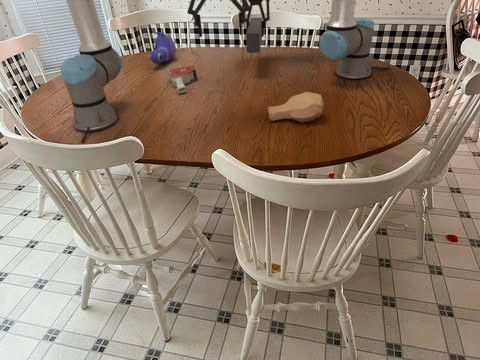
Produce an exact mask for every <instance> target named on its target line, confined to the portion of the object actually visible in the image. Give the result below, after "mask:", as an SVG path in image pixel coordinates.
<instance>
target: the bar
mask: <svg viewBox="0 0 480 360" xmlns="http://www.w3.org/2000/svg"><path fill="white" fill-rule="evenodd" d="M262 21H263V18H262V17H250V19H249V22H250V23H249V26H248V29H247V28H246V33H245V37H246V39H245V43H246V53H247V54H249V53H250V54H256V53H258V54H259V53H260V52H261V45H262V39H263V37H262Z"/></svg>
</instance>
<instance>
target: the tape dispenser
mask: <svg viewBox="0 0 480 360" xmlns="http://www.w3.org/2000/svg"><path fill="white" fill-rule="evenodd" d="M181 70H183V71H181ZM166 72H167V77H168V79H169V81H170V82H171V84H172V85H173V87H176V92H177V93H178V94H183V93H186V92H187V87H186V85H187V84H188V83H191V81H196V80H197V77H198V76H197V70H196V67H195V65H188V66H183V67H176V68H168V69H166Z"/></svg>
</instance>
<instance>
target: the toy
mask: <svg viewBox="0 0 480 360" xmlns="http://www.w3.org/2000/svg"><path fill="white" fill-rule="evenodd" d="M153 34H154V35H157V36H156V38H155V42H154V50H152V51H150V53H149V56H148V58H149V60H150V61H151V62H152V63H153V64H155V65H156V68H157V69H159V67H160V64H163V63H166V62H169V61H170V60H172V59H173V58H174V57H175V55H176V51H177V49H176V44H175V42H174V40H173V38H172V37H171V36H170V35H168V36H167V35H166V34H165V33H164V32H163V31H160V32H159V31H155V32H154V33H153Z"/></svg>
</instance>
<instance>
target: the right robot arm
mask: <svg viewBox="0 0 480 360" xmlns="http://www.w3.org/2000/svg"><path fill="white" fill-rule="evenodd" d="M240 1H241V6H242V7H243V8H244V7H245V6H244V4H243V2H242V0H240ZM263 1H264V2H265V3H266V5H265V6H266V7H265V8H266V15H265V11H264V8H263V4H262V3H263ZM270 1H271V0H247V2H248V4H249V6H250V10H249V11H247V16H246V17H245V25H246V27H245V28H246V30H247V29H248V26H249V23H250V20H251V15H252V11H253V6H254V7H255V6H258V7H259V12H260V14H261V18H262V38H264V36H265V34H264V33H265V30H266V28H267V22H268V21H270V17H271V15H270ZM356 1H357V0H331V9H330V10H331V11H330V18H329V20H328V21H327V22H326V23H325V32H323V33H322V35H321V36H320V38H319V41H318V42H319V43H318V46H319V50H320V53H321V54H322V55H323V57H324V58H325V59H327V60H329V61H334V62H335V61H338V60H339V61H338V63H337V65H336V66H335V75H336V76H337V77H339V78H341V79H345V80H351V81H352V80H355V81H356V80H358V81H359V80H364V79H367V78H369V77H371V75H372V70H389V69H390V66H372V65H371V60H370V54H371V48H372V43H373V42H372V41H373V37H374V31H375V21H373V20H372V19H368V18H361V17H355V7H356Z"/></svg>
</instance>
